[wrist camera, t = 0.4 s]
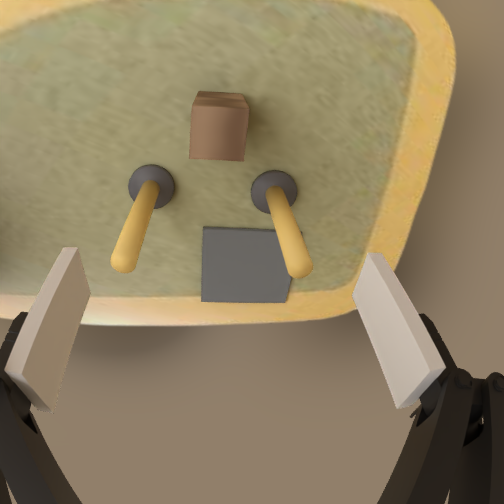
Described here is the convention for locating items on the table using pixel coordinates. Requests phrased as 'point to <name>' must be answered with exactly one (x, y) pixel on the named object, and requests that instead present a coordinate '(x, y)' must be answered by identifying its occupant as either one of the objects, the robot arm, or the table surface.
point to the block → (218, 126)
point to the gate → (263, 196)
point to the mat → (243, 266)
